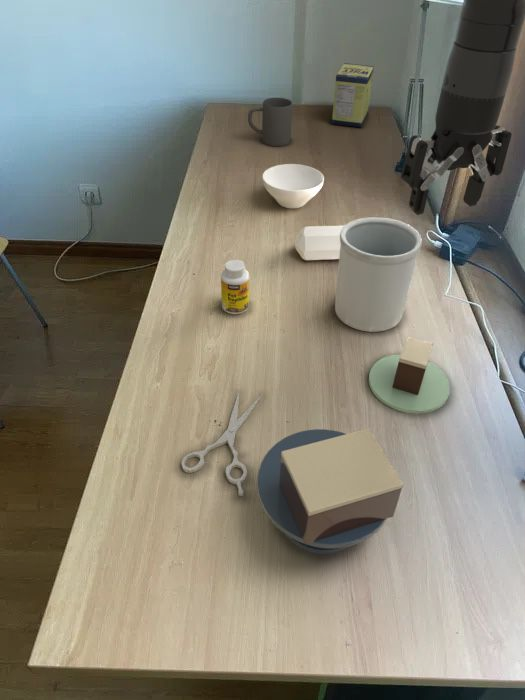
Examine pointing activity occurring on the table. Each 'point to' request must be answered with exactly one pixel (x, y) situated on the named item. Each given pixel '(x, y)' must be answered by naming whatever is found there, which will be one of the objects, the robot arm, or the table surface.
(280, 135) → the mug
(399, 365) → the cake slice
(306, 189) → the bowl
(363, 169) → the table surface
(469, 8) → the robot arm
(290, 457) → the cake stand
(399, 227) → the utensil holder
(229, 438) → the scissors
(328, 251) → the crystal
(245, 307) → the supplement bottle
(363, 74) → the protein box
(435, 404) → the plate
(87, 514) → the table surface
